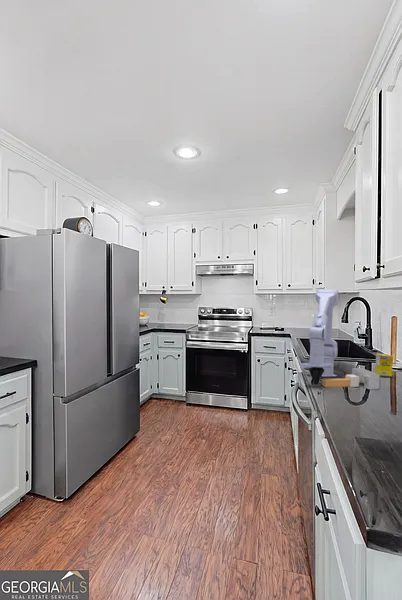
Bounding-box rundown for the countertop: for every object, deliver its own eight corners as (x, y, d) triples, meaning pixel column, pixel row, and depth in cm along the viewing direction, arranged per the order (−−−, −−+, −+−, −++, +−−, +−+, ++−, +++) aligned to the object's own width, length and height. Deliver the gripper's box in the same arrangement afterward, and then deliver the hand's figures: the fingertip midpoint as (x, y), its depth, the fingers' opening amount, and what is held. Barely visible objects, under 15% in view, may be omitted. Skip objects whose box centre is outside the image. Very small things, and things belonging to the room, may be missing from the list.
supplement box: (392, 378, 155) (393, 356, 154) (379, 377, 156) (380, 355, 155) (387, 374, 160) (388, 354, 160) (374, 374, 162) (375, 353, 161)
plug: (321, 384, 139) (321, 375, 139) (355, 384, 142) (355, 374, 142) (326, 387, 135) (326, 377, 135) (361, 386, 138) (361, 376, 138)
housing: (351, 381, 146) (352, 368, 146) (361, 381, 147) (361, 368, 147) (368, 389, 135) (369, 374, 134) (378, 389, 135) (379, 374, 135)
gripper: (306, 355, 131) (304, 387, 131) (337, 355, 134) (335, 386, 134) (298, 352, 138) (297, 382, 138) (327, 352, 140) (326, 381, 141)
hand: (315, 384), depth 137 cm, fingers closed
